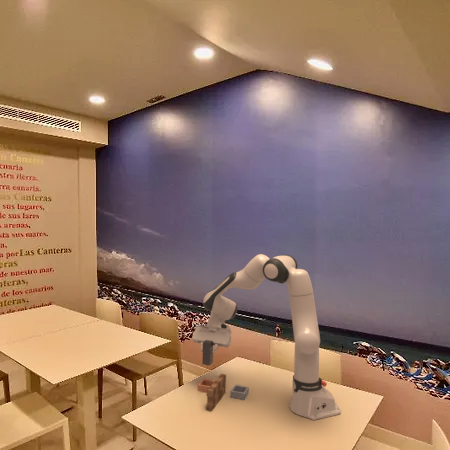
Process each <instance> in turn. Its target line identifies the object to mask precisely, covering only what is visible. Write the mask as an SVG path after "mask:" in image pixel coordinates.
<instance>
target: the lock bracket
mask: <svg viewBox="0 0 450 450" xmlns="http://www.w3.org/2000/svg"><path fill="white" fill-rule="evenodd" d="M215 381H216V380H212V379H209V378H208V379H207V378H203V379H202V380H201V381H200V382H199V383H198V384H197V392H200V393H201V392H202V393H206V394H207V390H208V389H209V388H210V386H211V385H212V384H213V383H214V382H215Z"/></svg>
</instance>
